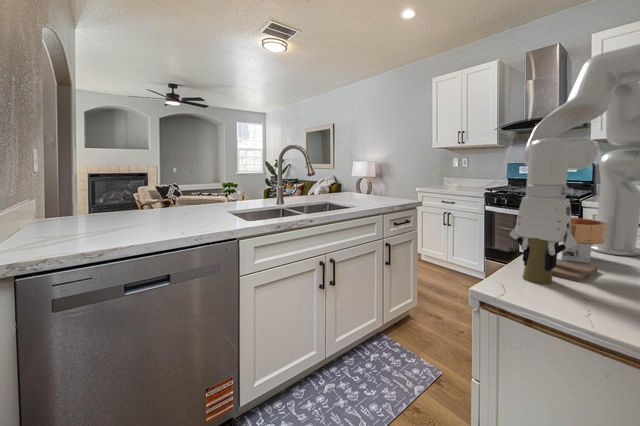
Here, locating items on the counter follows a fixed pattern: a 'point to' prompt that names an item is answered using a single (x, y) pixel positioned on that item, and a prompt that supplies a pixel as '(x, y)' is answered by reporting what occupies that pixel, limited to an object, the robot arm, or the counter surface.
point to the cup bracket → (583, 234)
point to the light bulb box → (576, 253)
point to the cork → (537, 262)
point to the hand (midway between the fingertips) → (538, 266)
